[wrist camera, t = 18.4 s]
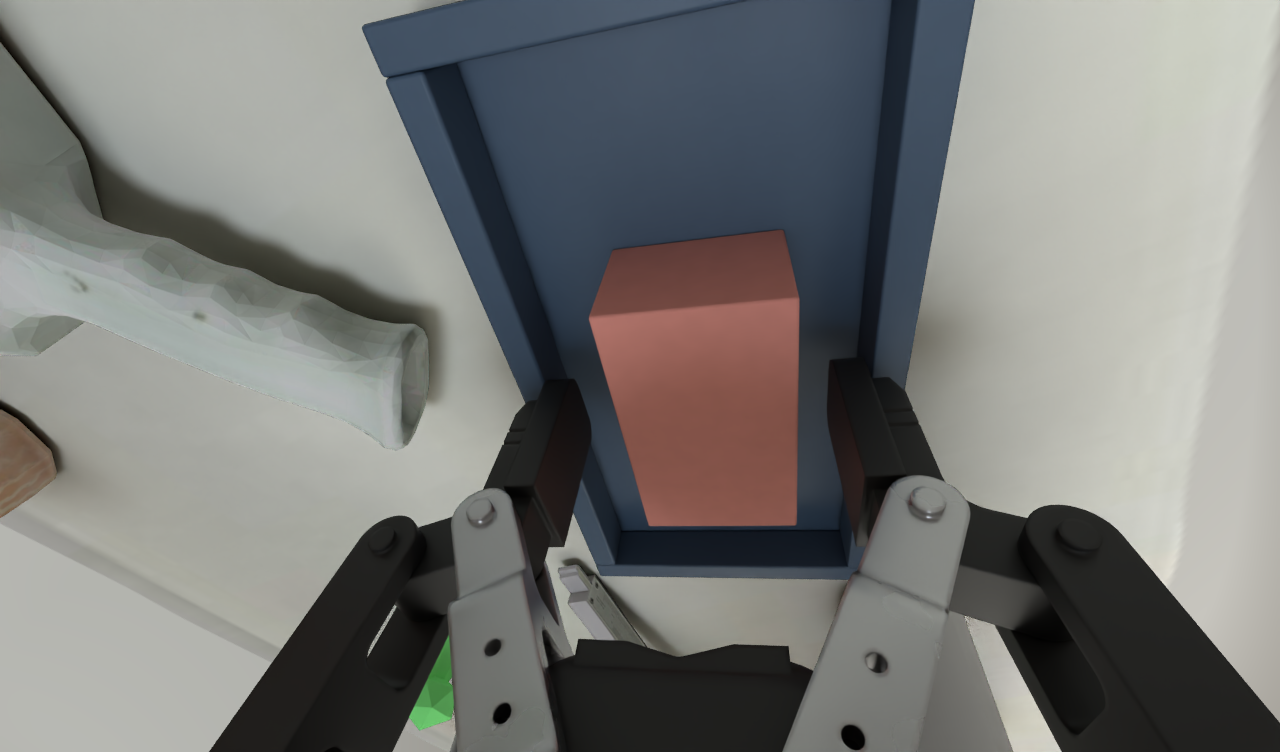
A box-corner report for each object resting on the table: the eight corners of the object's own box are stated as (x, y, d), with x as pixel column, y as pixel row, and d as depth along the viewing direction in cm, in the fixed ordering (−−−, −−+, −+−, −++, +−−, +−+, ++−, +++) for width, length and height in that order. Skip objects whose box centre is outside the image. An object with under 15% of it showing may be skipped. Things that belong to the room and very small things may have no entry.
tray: (858, 527, 19) (870, 581, 17) (609, 528, 21) (600, 576, 19) (945, -115, 8) (999, -129, 7) (414, 13, 10) (358, 25, 9)
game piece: (420, 566, 25) (354, 704, 20) (506, 579, 25) (459, 721, 20) (438, 607, 28) (383, 737, 23) (515, 619, 28) (475, 752, 23)
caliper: (749, 722, 33) (754, 851, 28) (733, 722, 34) (735, 850, 29) (578, 556, 23) (540, 718, 18) (558, 561, 23) (516, 719, 18)
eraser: (783, 228, 11) (799, 298, 9) (785, 442, 16) (797, 526, 14) (611, 248, 12) (587, 317, 10) (658, 447, 17) (648, 527, 14)
